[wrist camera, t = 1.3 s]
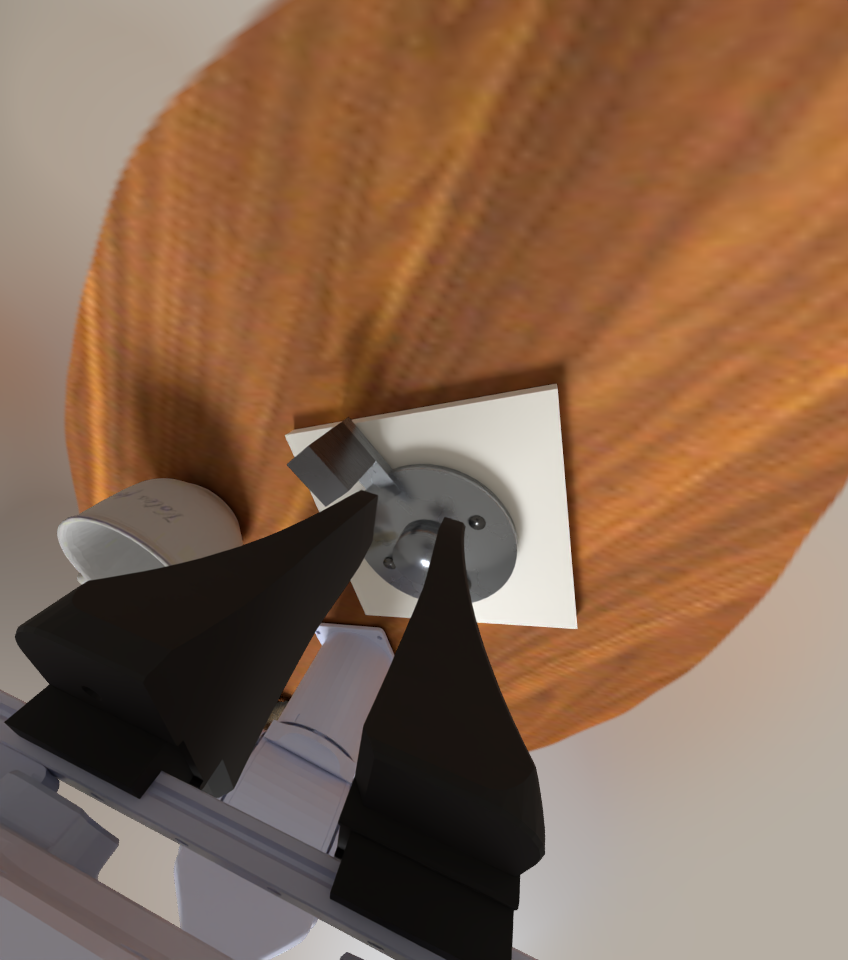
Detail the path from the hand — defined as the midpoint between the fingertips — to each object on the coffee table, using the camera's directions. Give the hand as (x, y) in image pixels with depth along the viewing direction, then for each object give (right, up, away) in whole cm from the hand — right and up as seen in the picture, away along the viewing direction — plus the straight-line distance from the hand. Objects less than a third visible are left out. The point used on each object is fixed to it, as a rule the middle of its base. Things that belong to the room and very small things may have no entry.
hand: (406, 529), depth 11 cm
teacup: (-20, -2, +21) cm, 29 cm away
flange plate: (0, -1, +11) cm, 11 cm away
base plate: (+2, -2, +13) cm, 13 cm away
